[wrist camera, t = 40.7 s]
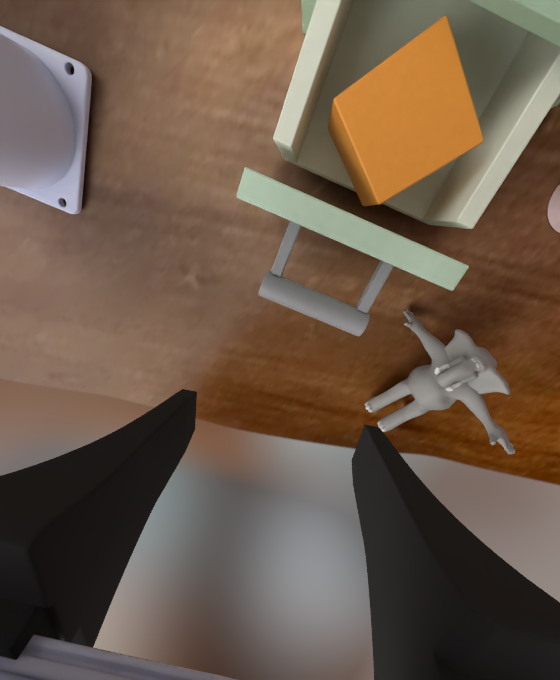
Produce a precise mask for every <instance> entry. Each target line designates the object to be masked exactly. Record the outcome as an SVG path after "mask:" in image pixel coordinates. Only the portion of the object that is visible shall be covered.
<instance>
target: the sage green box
mask: <svg viewBox="0 0 560 680" xmlns="http://www.w3.org/2000/svg"><path fill="white" fill-rule="evenodd" d="M316 1H317V0H301V3H302V27H303V33H305V34H306V33H307V30H308V27H309V23H310V20H311V17H312V14H313V11H314V8H315V5H316ZM469 1H471V2H473V3H475V4H477V5H479V6H481V7H483V8H485V9H487V10H489V11H491V12H493V13H495V14H497V15H499V16H500V17H502V18H504V19H506V20H508V21H510V22H512V23H514V24H516V25H518V26H520V27H522V28H524V29H526V30H528V31H530V32H532V33H534V34H536V35H538V36H540V37H541V38H543V39H545V40H547V41H549V42H551V43H553V44H555V45H557V46H559V47H560V0H469ZM557 105H560V94H559V96H558V98H557V99H556V101H555V102H554V104H553V105H552V107H551V108H553V107H555V106H557ZM551 108H550V109H551Z"/></svg>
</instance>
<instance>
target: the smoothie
mask: <svg viewBox="0 0 560 680" xmlns="http://www.w3.org/2000/svg"><path fill="white" fill-rule="evenodd" d="M548 220H549V223H550V225H551V226H552V228H553V229H554V230H556V231H557V232H559V233H560V184H559V185H558V186H557V188H556V189H555V191H554V192H553V194H552V196H551V199H550V201H549V205H548Z"/></svg>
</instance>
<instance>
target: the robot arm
mask: <svg viewBox="0 0 560 680" xmlns="http://www.w3.org/2000/svg"><path fill="white" fill-rule="evenodd" d="M72 66H73V67H74V74H73V75H72V74H71V71H70V70H71V67H72ZM91 85H92V75H91V72H90V70H89V69H88V67H87V66H85V65H84V64H82V63H81V62H79V61H77V60H75V59H72V58H70V57H68V56H66V55H64V54H61V53H59V52H57V51H55V50H52V49H50V48H48V47H46V46H44V45H41V44H39V43H37V42H35V41H32V40H30V39H28V38H26V37H24V36H21V35H19V34H17V33H15V32H13V31H10V30H8V29H6V28H4V27H1V26H0V186H5V187H7V188H10V189H12V190H15V191H17V192H19V193H22V194H24V195H27V196H29V197H32V198H34V199H36V200H39V201H41V202H44V203H46V204H48V205H51V206H53V207H56V208H58V209H61V210H63V211H65V212H68V213H70V214H78V213H80V212H81V209H82V197H83V184H84V172H85V160H86V147H87V135H88V122H89V110H90V98H91ZM64 199H65V201H66V206H65V205H64V203H63V200H64ZM196 395H197V392H195V391H190V390H185V389H182V390H181V391H179V392H177V393H176V394H174V395H173V396H171V397H170V398H168V399H167V400H166V401H164V402H163V403H161V404H160V405H158V406H157V407H155V408H153V409H152V410H151V411H149V412H147V413H146V414H144V415H142V416H141V417H139V418H138V419H136V420H134V421H133V422H131V423H129V424H127V425H126V426H124V427H122V428H120V429H118V430H117V431H115V432H113V433H111V434H109V435H107V436H105V437H103V438H101V439H99V440H97V441H94V442H92V443H90V444H88V445H86V446H83V447H81V448H78V449H76V450H73V451H71V452H69V453H67V454H64V455H61V456H59V457H56V458H54V459H51V460H48V461H45V462H42V463H40V464H37V465H34V466H31V467H28V468H25V469H22V470H19V471H16V472H12V473H9V474H6V475H2V476H0V680H237V679H233V678H228V677H224V676H219V675H214V674H210V673H206V672H201V671H196V670H192V669H187V668H183V667H178V666H174V665H169V664H165V663H160V662H156V661H151V660H147V659H142V658H138V657H133V656H128V655H124V654H119V653H114V652H110V651H106V650H101V649H97V648H93V646H94V644H95V641H96V639H97V636H98V633H99V631H100V629H101V626H102V624H103V621H104V619H105V616H106V614H107V611H108V609H109V606H110V604H111V601H112V599H113V596H114V594H115V592H116V589H117V587H118V585H119V583H120V580H121V578H122V576H123V573H124V571H125V568H126V566H127V564H128V562H129V559H130V557H131V554H132V553H133V550H134V548H135V546H136V543H137V541H138V539H139V537H140V534H141V532H142V530H143V528H144V526H145V524H146V522H147V520H148V517H149V515H150V513H151V511H152V509H153V507H154V505H155V503H156V501H157V499H158V498H159V496H160V495H161V493H162V491H163V489H164V488H165V486H166V484H167V482H168V480H169V479H170V477H171V475H172V474H173V472H174V470H175V469H176V467H177V465H178V463H179V462H180V459H181V458H182V456H183V455H184V453H185V451H186V449H187V447H188V444H189V442H190V440H191V437H192V435H193V432H194V430H195V416H196ZM352 475H353V486H354V492H355V497H356V502H357V508H358V514H359V519H360V524H361V530H362V535H363V540H364V546H365V553H366V563H367V573H368V584H369V597H370V608H371V624H372V642H373V660H374V680H560V603H559V602H558V601H557V600H555V599H554V598H553V597H551V596H550V595H548V594H547V593H546V592H544V591H543V590H542V589H540V588H539V587H537V586H536V585H535V584H534V583H532V582H531V581H529V580H528V579H527V578H525V577H524V576H523V575H522V574H520V573H519V572H518V571H517V570H515V569H514V568H513V567H512V566H510V565H509V564H508V563H506V562H505V561H504V560H503V559H502V558H500V557H499V556H498V555H497V554H496V553H494V552H493V551H492V550H491V549H490V548H488V547H487V546H486V545H485V544H484V543H483V542H482V541H480V540H479V539H478V538H477V537H476V536H475V535H474V534H473V533H472V532H470V531H469V530H468V529H467V528H466V527H465V526H464V525H463V524H462V523H461V522H460V521H459V520H458V519H456V518H455V516H454V515H453V514H452V513H450V511H448V509H447V508H446V507H445V506H444V505H443V504H442V503H440V502H439V500H438V499H437V498H436V497H435V496H434V495H433V494H432V493H431V492H430V491H429V489H428V488H427V487H426V486H425V485H424V484H423V482H422V481H421V480H420V479H419V478H418V477H417V476H416V474H415V473H414V472H413V471H412V469H411V468H410V467H409V466H408V464H407V463H406V462H405V461H404V459H403V458H402V457H401V455H400V454H399V453H398V451H397V450H396V449H395V448H394V446H393V445H392V444H391V442H390V441H389V440H388V438H387V437H386V436H385V434H384V433H383V432H382V430H381V429H380V428H379V427H374V426H369V425H364V428H363V431H362V433H361V436H360V439H359V442H358V444H357V447H356V450H355V453H354V455H353V458H352Z"/></svg>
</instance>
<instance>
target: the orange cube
mask: <svg viewBox="0 0 560 680" xmlns="http://www.w3.org/2000/svg"><path fill="white" fill-rule="evenodd" d="M328 131H329V133H330V135H331V137H332V139H333V142H334V144H335V146H336V148H337V150H338V153H339V155H340V157H341V159H342V162H343V164H344V166H345V168H346V170H347V173H348V175H349V177H350V179H351V181H352V184H353V186H354V188H355V190H356V192H357V195H358V197H359V199H360V201H361V204H362V206H371V205H378V204H382V203H383V202H385V201H387V200H388V199H390V198H392V197H393V196H395V195H397V194H398V193H400V192H402V191H403V190H405V189H407V188H408V187H410V186H411V185H413V184H415V183H416V182H418V181H420V180H421V179H423V178H425V177H426V176H428V175H430V174H431V173H433V172H435V171H436V170H438V169H440V168H441V167H443V166H445V165H446V164H448V163H450V162H451V161H453V160H455V159H456V158H458V157H460V156H461V155H463V154H465V153H466V152H468V151H470V150H471V149H473V148H475V147H476V146H478V145H480V144H481V143H482V142H483V141H484V138H483V135H482V131H481V128H480V125H479V121H478V118H477V114H476V111H475V108H474V104H473V101H472V98H471V94H470V91H469V87H468V84H467V81H466V77H465V74H464V71H463V67H462V64H461V60H460V57H459V54H458V50H457V47H456V43H455V40H454V37H453V33H452V30H451V27H450V23H449V20H448V16H447V15H445V16H443V17H442V18H440V19H439V20H438V21H436V22H435V23H434V24H432V25H431V26H430V27H428V28H427V29H426V30H424V31H423V32H422V33H420V34H419V35H418V36H416V37H415V38H414V39H412V40H411V41H410V42H408V43H407V44H406V45H404V46H403V47H402V48H400V49H399V50H398V51H396V52H395V53H394V54H392V55H391V56H390V57H388V58H387V59H386V60H384V61H383V62H382V63H380V64H379V65H378V66H376V67H375V68H374V69H372V70H371V71H370V72H368V73H367V74H366V75H364V76H363V77H362V78H360V79H359V80H358V81H356V82H355V83H354V84H352V85H351V86H350V87H348V88H347V89H346V90H344V91H343V92H342V93H340V94H339V95H338V96H336V97H335V98H334V100H333V104H332V109H331V114H330V119H329V124H328Z"/></svg>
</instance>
